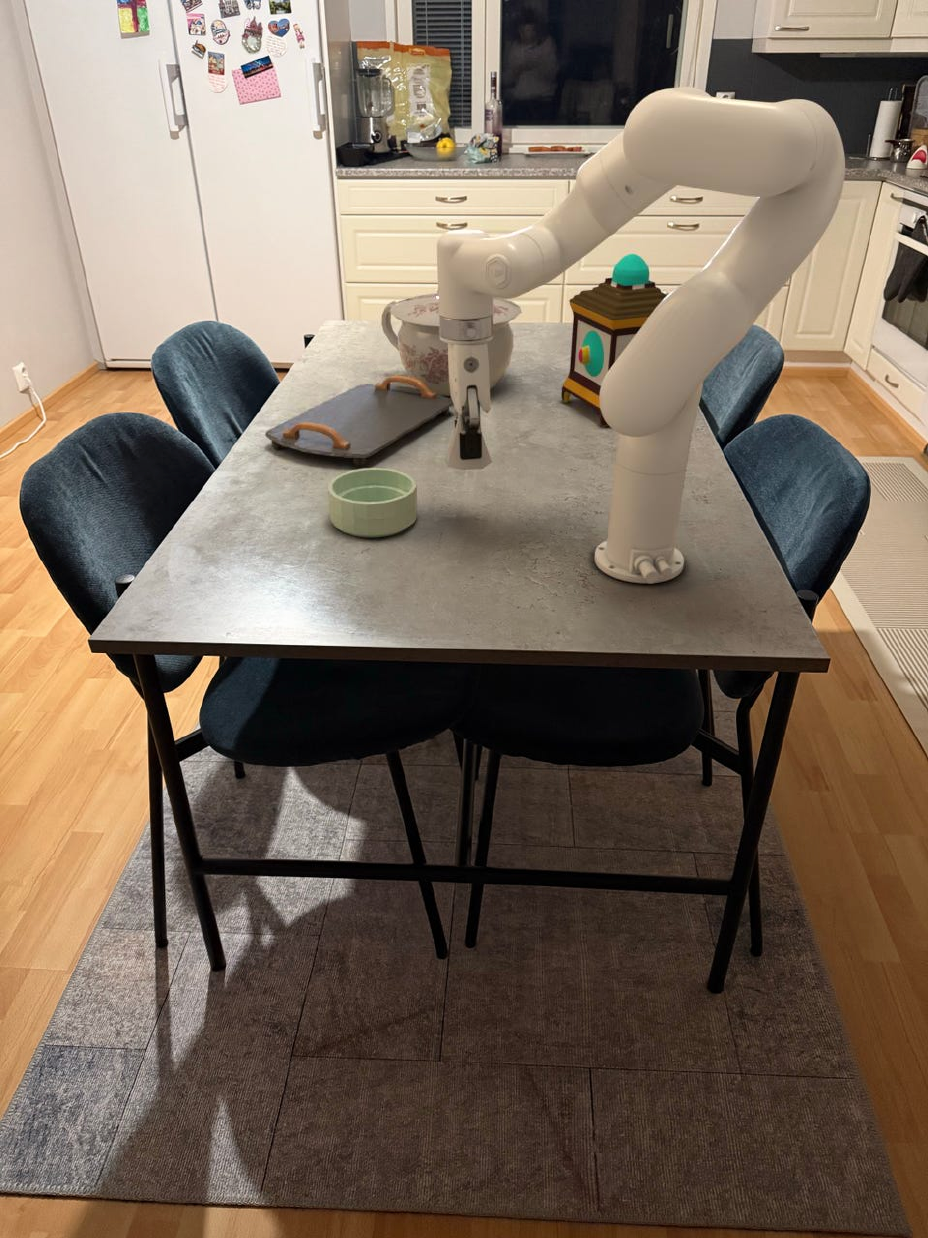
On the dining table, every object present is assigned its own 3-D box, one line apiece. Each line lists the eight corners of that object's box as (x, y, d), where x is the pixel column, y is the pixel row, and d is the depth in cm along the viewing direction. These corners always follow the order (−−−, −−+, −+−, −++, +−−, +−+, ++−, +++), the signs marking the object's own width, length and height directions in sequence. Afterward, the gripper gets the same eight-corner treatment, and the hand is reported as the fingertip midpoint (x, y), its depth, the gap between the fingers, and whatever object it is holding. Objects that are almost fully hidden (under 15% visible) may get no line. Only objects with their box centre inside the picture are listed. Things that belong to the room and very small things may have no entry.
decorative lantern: (551, 400, 190) (560, 247, 174) (632, 388, 196) (648, 241, 180) (600, 431, 174) (615, 267, 158) (686, 418, 181) (708, 259, 165)
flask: (487, 473, 132) (487, 406, 127) (439, 470, 134) (437, 404, 128) (496, 455, 138) (496, 390, 133) (450, 452, 140) (448, 388, 134)
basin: (420, 537, 136) (419, 501, 133) (331, 542, 135) (328, 506, 131) (413, 500, 147) (412, 465, 144) (330, 504, 146) (327, 469, 143)
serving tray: (369, 392, 193) (367, 363, 190) (464, 410, 184) (465, 380, 181) (253, 452, 164) (249, 419, 161) (359, 477, 155) (357, 443, 152)
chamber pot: (541, 397, 191) (546, 296, 180) (420, 415, 181) (418, 309, 170) (484, 362, 212) (486, 269, 201) (374, 376, 203) (369, 279, 192)
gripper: (503, 341, 119) (502, 471, 128) (483, 311, 133) (484, 430, 143) (446, 344, 118) (450, 475, 127) (433, 314, 132) (437, 433, 142)
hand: (468, 450), depth 135 cm, fingers closed on flask, 4 cm apart
